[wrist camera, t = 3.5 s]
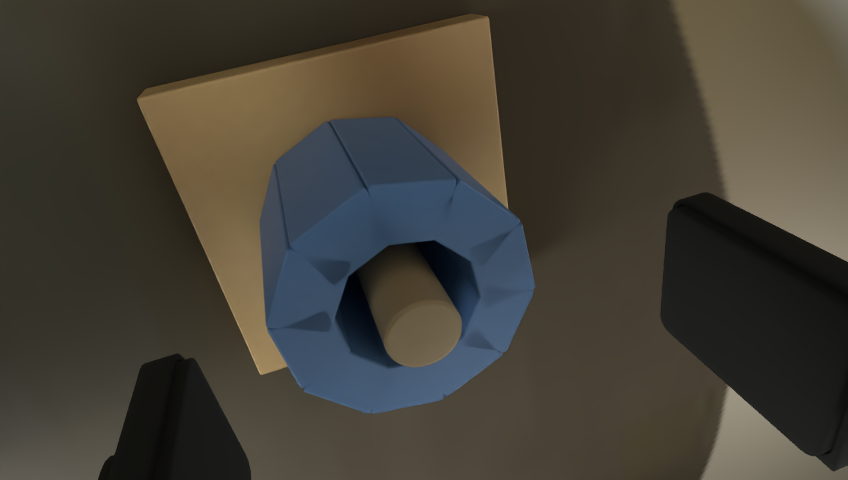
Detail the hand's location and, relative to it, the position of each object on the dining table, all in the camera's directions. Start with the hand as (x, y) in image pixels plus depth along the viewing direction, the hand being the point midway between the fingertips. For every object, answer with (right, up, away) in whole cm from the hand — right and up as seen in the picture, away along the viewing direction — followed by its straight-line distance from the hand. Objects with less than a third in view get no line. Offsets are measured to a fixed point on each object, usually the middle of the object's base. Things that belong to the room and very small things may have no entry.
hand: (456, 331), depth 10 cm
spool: (-2, +3, +5) cm, 6 cm away
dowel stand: (-3, +3, +6) cm, 7 cm away
